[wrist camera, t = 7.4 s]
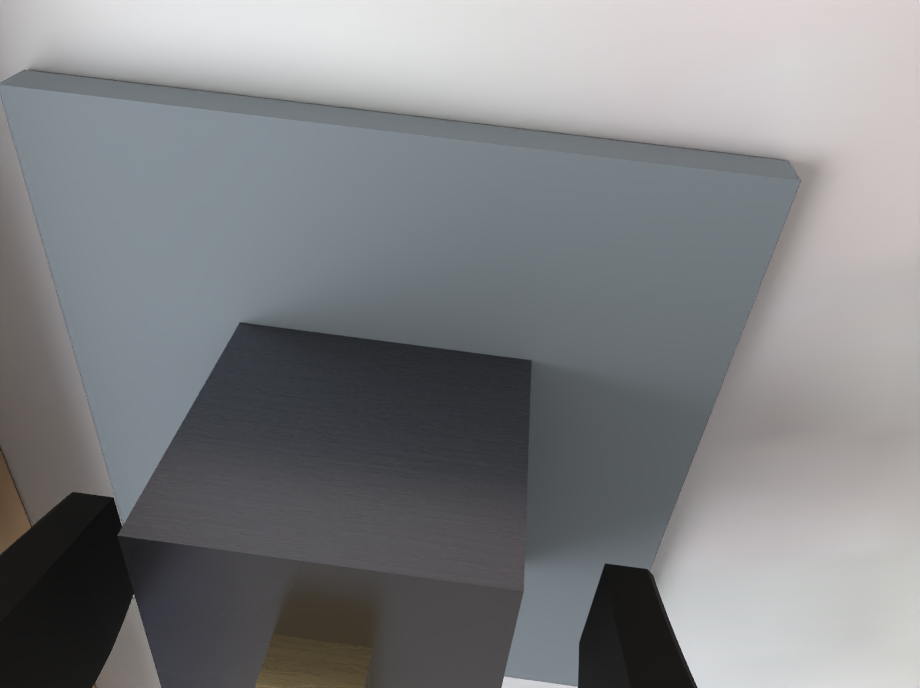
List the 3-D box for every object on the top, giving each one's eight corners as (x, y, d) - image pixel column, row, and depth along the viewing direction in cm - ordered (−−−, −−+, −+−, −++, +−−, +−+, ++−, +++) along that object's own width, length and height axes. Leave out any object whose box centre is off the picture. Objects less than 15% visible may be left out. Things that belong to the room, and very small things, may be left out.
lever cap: (492, 566, 14) (471, 856, 10) (263, 535, 14) (157, 810, 10) (531, 360, 11) (521, 661, 7) (239, 321, 11) (80, 599, 7)
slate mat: (601, 664, 17) (603, 690, 16) (163, 604, 17) (152, 627, 17) (788, 160, 10) (800, 181, 9) (23, 69, 10) (-2, 84, 9)
